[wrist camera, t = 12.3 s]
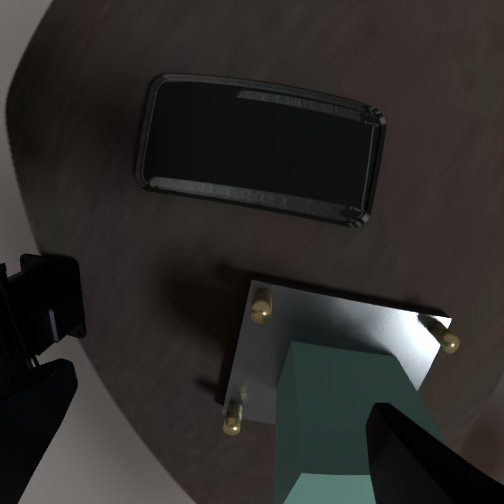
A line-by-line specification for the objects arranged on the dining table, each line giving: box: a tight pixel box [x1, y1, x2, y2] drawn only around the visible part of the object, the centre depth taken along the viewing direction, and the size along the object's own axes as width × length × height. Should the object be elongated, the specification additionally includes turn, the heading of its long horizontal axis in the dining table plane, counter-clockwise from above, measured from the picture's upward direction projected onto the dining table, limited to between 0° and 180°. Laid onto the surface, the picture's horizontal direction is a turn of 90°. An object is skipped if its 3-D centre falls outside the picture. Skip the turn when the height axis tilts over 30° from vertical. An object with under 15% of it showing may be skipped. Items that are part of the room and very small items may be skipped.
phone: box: [135, 74, 386, 227], centre depth 18 cm, size 8×1×15 cm
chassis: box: [222, 275, 460, 435], centre depth 20 cm, size 15×12×4 cm
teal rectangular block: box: [274, 341, 447, 504], centre depth 16 cm, size 8×4×11 cm, turn 78°
